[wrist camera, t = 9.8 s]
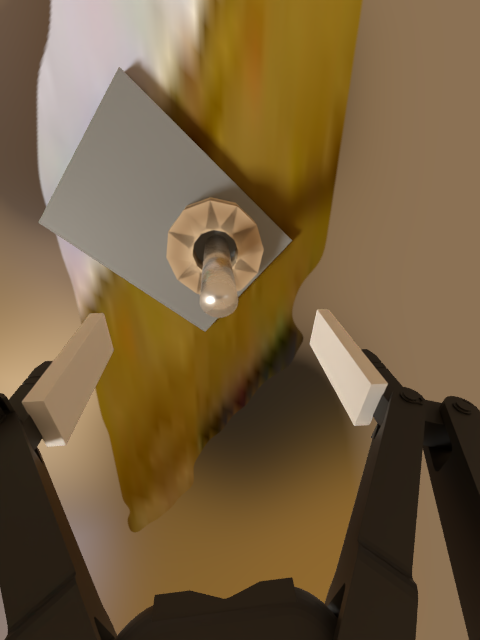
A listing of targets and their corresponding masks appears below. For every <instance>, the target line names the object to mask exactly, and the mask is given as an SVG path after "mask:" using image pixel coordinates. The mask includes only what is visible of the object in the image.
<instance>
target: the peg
mask: <svg viewBox="0 0 480 640" xmlns="http://www.w3.org/2000/svg"><path fill="white" fill-rule="evenodd" d="M237 305H238V295H237V290H236V285H235V279H234V274H233V269H232V263H231V258H230V253H229V247H228V243H227V241H226V240H225V238H223V237H222V236H219V235H213V236H211V237H209V238H208V239H207V240H206V242H205V247H204V257H203V268H202V279H201V290H200V306H201V308H202V310H203V311H204V312H205V313H206V314H208V315H210V316H212V317H216V318H221V317H226V316H228V315H230V314H231V313H233V312H234V310H235V309H236V307H237Z"/></svg>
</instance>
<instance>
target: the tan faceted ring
mask: <svg viewBox="0 0 480 640" xmlns="http://www.w3.org/2000/svg"><path fill="white" fill-rule="evenodd" d="M211 230H217V231H222V232H226V233H227V234H228V235H229V236H230V237H231V238H233V239H234V240H235V243H236V249H235V254H234V256H233V257H232V258H231V263H232V269H233V274H234V279H235V285H236V290H237V291H240V290H242V289H243V288H244V287H245V286H246V285H247V284H248V283H249V282H250V281H251V280H252V279H253V278H254V276H255V275H256V274H257V273H258V270H259V266H260V262H261V258H262V255H263V251H264V249H263V245H262V242H261V238H260V234H259V231H258V227H257V224H256V223H255V222H254V220H253V219H252V218H251V217H250V216H249V215H248V214H247V213H246V212H244V211H243V210H242V209H241V208H240V207H239V206H238V205H237V204H236V203H235V202H230V201H226V200H221V199H217V198H212V197H209V198H207V199H204V200H201V201H199V202H196V203H193V204H190V205H188V206H186V207H185V209H184V210H183V211H182V213H181V214H180V215H179V217H178V218H177V220H176V221H175V222H174V224H173V225H172V226H171V228H170V229H169V231H168V242H167V256H166V258H167V260H168V262H169V264H170V266H171V268H172V270H173V272H174V274H175V276H176V278H177V280H178V281H180V282H181V283H183V284H184V285H185V286H187V287H188V288H190V289H191V290H192V291H194V292H195V293H197V294H200V290H201V279H202V268H203V262H202V261H201V260H200V259H199V258H198V257H197V254H196V252H195V249H194V243H195V241H196V240H197V239H198V238H199V236H200V235H201V234H203V233H206V232H208V231H211Z"/></svg>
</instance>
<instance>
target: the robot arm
mask: <svg viewBox="0 0 480 640" xmlns="http://www.w3.org/2000/svg"><path fill="white" fill-rule="evenodd" d="M310 345H311V347H312V349H313V351H314V353H315V355H316V356H317V358H318V360H319V362H320V364H321V366H322V367H323V369H324V371H325V373H326V375H327V376H328V378H329V380H330V382H331V384H332V386H333V387H334V389H335V391H336V393H337V395H338V397H339V398H340V400H341V402H342V404H343V406H344V408H345V409H346V411H347V413H348V415H349V417H350V419H351V420H352V422H353V424H354V425H355V426H357V425H369V424H370V422H371V420H372V418H373V417H374V418H375V420H376V421H377V423H378V424H377V426H376V428H375V430H374V432H373V434H372V436H371V438H372V442H371V446H370V450H369V453H368V457H367V460H366V464H365V468H364V471H363V475H362V479H361V482H360V486H359V489H358V493H357V497H356V500H355V504H354V508H353V511H352V515H351V519H350V522H349V526H348V529H347V533H346V537H345V540H344V544H343V547H342V551H341V555H340V558H339V562H338V566H337V569H336V572H335V575H334V578H333V581H332V584H331V586H330V589H329V592H328V595H327V598H326V601H325V604H324V603H323V602H322V601H320V600H319V599H318V598H317V597H315V596H314V595H312V594H310V593H309V592H307V591H304V590H302V589H300V588H297V587H294V584H293V579H292V578H285V579H276V580H269V581H261V582H258V583H256V584H255V585H253V586H251V587H249V588H247V589H245V590H243V591H241V592H239V593H237V594H235V595H233V596H232V597H230V598H227V599H222V598H218V597H214V596H210V595H206V594H202V593H197V592H193V591H183V592H175V593H168V594H159V595H155V597H154V605H153V606H151V607H149V608H147V609H146V610H144V611H143V612H141V613H140V614H139V615H137V616H136V617H135V618H134V619H133V620H131V621H130V622H129V623H128V624H127V625H126V626H125V628H124V629H123V630H122V631H121V632H120V633H119V634H118V636H117V634H116V632H115V630H114V627H113V625H112V623H111V621H110V619H109V616H108V615H107V613H106V611H105V609H104V607H103V605H102V603H101V600H100V598H99V596H98V593H97V591H96V588H95V586H94V584H93V581H92V579H91V576H90V574H89V571H88V569H87V566H86V564H85V561H84V559H83V556H82V554H81V552H80V549H79V547H78V544H77V542H76V539H75V537H74V534H73V532H72V530H71V527H70V525H69V522H68V520H67V518H66V515H65V512H64V510H63V507H62V505H61V502H60V500H59V498H58V495H57V493H56V490H55V488H54V486H53V483H52V481H51V478H50V476H49V473H48V471H47V468H46V466H45V463H44V461H43V458H42V456H41V453H40V451H39V449H38V448H37V446H38V444H39V443H40V441H41V439H43V440H44V441H45V444H46V445H47V446H61V445H66V444H67V442H68V440H69V438H70V436H71V434H72V432H73V430H74V428H75V426H76V424H77V422H78V420H79V418H80V416H81V414H82V412H83V410H84V408H85V406H86V404H87V402H88V401H89V399H90V396H91V394H92V392H93V391H94V389H95V387H96V385H97V383H98V381H99V379H100V377H101V375H102V373H103V371H104V369H105V367H106V365H107V363H108V361H109V359H110V357H111V355H112V353H113V351H114V349H113V346H112V342H111V338H110V335H109V331H108V327H107V324H106V320H105V316H104V313H90V314H89V315H88V317H87V318H86V319H85V321H84V322H83V323H82V325H81V326H80V327H79V328H78V330H77V331H76V333H75V334H74V335H73V336H72V337H71V339H70V340H69V341H68V343H67V344H66V346H64V348H63V349H62V350H61V352H60V353H59V354H58V356H57V357H56V358H55V359H54V361H45V362H44V363H42V364H41V365H39V366H38V367H37V368H35V369H34V370H33V371H32V373H31V374H30V375H29V376H28V378H27V379H26V380H25V381H24V382H23V385H21V386H20V387H19V388H18V389H17V391H16V392H15V393H14V394H13V395H12V397H11V398H10V399H9V400H8V399H7V397H6V396H5V395H4V394H1V393H0V588H1V593H2V598H3V603H4V608H5V614H6V619H7V625H8V635H7V637H6V638H5V640H415V637H416V623H417V608H418V590H417V585H416V583H415V582H414V581H413V578H412V565H413V553H414V542H415V530H416V518H417V506H418V495H419V484H420V472H421V461H422V449H423V450H424V454H425V459H426V463H427V467H428V471H429V475H430V480H431V484H432V488H433V492H434V496H435V500H436V504H437V508H438V512H439V517H440V521H441V525H442V529H443V533H444V538H445V541H446V546H447V550H448V554H449V558H450V562H451V566H452V570H453V575H454V579H455V583H456V587H457V591H458V595H459V600H460V604H461V608H462V612H463V616H464V620H465V624H466V629H467V632H468V637H469V640H480V411H479V410H478V409H477V407H476V406H474V405H473V404H472V403H470V402H469V401H467V400H465V399H462V398H459V397H455V396H449V397H446V398H445V399H444V401H443V402H442V403H439V402H433V401H428V400H425V399H424V398H423V397H422V396H421V395H420V394H419V393H418V392H416V391H414V390H412V389H410V388H406V387H402V385H401V384H400V383H399V382H398V381H397V380H396V378H395V377H394V376H393V375H392V374H391V373H390V371H389V370H388V369H386V367H385V365H384V364H383V363H381V361H380V360H379V358H378V357H377V356H376V355H375V354H373V353H372V352H370V351H369V350H367V349H360V348H359V347H358V345H357V344H356V343H355V342H354V340H353V339H352V338H351V337H350V336H349V334H348V333H347V332H346V330H345V329H344V328H343V327H342V326H341V324H340V323H339V322H338V320H336V318H335V317H334V315H333V314H332V313H331V312H330V311H329V309H318V310H317V312H316V317H315V321H314V326H313V331H312V336H311V340H310Z"/></svg>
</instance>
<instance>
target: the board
mask: <svg viewBox="0 0 480 640" xmlns="http://www.w3.org/2000/svg"><path fill="white" fill-rule="evenodd" d="M209 197H212V198H217V199H221V200H226V201H230V202H235V203H236V204H237V205H238V206H239V207H240V208H241V209H242V210H243V211H244V212H246V213H247V214H248V215H249V216H250V217H251V218H252V219H253V220H254V222H255V223H256V224H257V227H258V231H259V234H260V238H261V242H262V245H263V249H264V251H263V255H262V258H261V262H260V266H259V270H258V273H257V274H256V275H255V276H254V278H253V279H252V280H251V281H250V282H249V283H248V284H247V285H246V286H245V287H244V288H243V289H242V290H240V291H237V295H238V297H239V296H240V295H241V294H242V292H243V291H244V290H245V289H246V288H247V287H248V286H249V285H250V284H251V283H252V282H253V281H254V280H255V279H256V278H257V277H258V276H259V275H260V274H261V273H262V272H263V271H264V269H265V268H266V267H267V266H268V265H269V264H270V263H271V262H272V261H273V260H274V259H275V258H276V257H277V256H278V255H279V254H280V253H281V252H282V251H283V250H284V249H285V247H286V246H287V245H288V244H289V243H290V242H291V241H292V240H291V239H290V238H289V237H288V236H287V235H286V234H285V233H284V232H283V231H282V230H281V229H280V228H279V227H278V226H277V225H276V224H275V223H274V222H273V221H272V220H271V219H270V218H269V217H268V216H267V215H266V214H265V213H264V212H263V211H262V210H261V209H260V208H259V207H258V206H257V205H256V204H255V203H254V202H253V201H252V200H251V199H250V198H249V197H248V196H247V195H246V194H245V193H244V192H243V191H242V190H241V189H240V188H239V187H238V186H237V185H236V184H235V183H234V182H233V181H232V180H231V179H230V178H229V177H228V176H227V175H226V174H225V173H224V172H223V171H222V170H221V169H220V168H219V167H218V166H217V165H216V164H215V163H214V162H213V161H212V160H211V159H210V158H209V157H208V156H207V155H206V154H205V153H204V152H203V150H202V149H201V148H200V147H199V146H198V145H197V144H196V143H195V142H194V141H193V140H192V139H191V138H190V137H189V136H188V135H187V134H186V133H185V132H184V131H183V130H182V129H181V128H180V127H179V126H178V125H177V124H176V123H175V122H174V121H173V120H172V119H171V118H170V117H169V116H168V115H167V114H166V113H165V112H164V111H163V110H162V109H161V108H160V107H159V106H158V105H157V104H156V103H155V102H154V101H153V100H152V99H151V98H150V97H149V96H148V95H147V94H146V93H145V92H144V91H143V90H142V89H141V88H140V87H139V86H138V85H137V84H136V83H135V82H134V81H133V80H132V79H131V78H130V77H129V76H128V75H127V74H126V73H125V72H124V71H123V70H122V69H121V68H120V67H119V68H118V70H117V72H116V74H115V76H114V78H113V80H112V82H111V84H110V86H109V88H108V89H107V91H106V93H105V95H104V97H103V99H102V101H101V103H100V105H99V107H98V109H97V111H96V113H95V115H94V116H93V118H92V120H91V122H90V124H89V126H88V128H87V130H86V132H85V134H84V136H83V138H82V140H81V142H80V143H79V145H78V147H77V149H76V151H75V153H74V155H73V157H72V159H71V161H70V163H69V165H68V167H67V169H66V170H65V172H64V174H63V176H62V178H61V180H60V182H59V184H58V186H57V188H56V190H55V192H54V194H53V196H52V197H51V199H50V201H49V203H48V205H47V207H46V209H45V211H44V213H43V215H42V217H41V219H40V221H39V223H40V224H42V225H43V226H44V227H46V228H47V229H49V230H51V231H52V232H54V233H55V234H57V235H58V236H60V237H61V238H63V239H64V240H66V241H67V242H69V243H70V244H72V245H73V246H75V247H76V248H78V249H79V250H81V251H83V252H84V253H86V254H87V255H89V256H90V257H92V258H93V259H95V260H96V261H98V262H99V263H101V264H102V265H104V266H105V267H107V268H109V269H110V270H112V271H113V272H115V273H116V274H118V275H119V276H121V277H122V278H124V279H125V280H127V281H128V282H130V283H131V284H133V285H134V286H136V287H138V288H139V289H141V290H142V291H144V292H145V293H147V294H148V295H150V296H151V297H153V298H154V299H156V300H157V301H159V302H160V303H162V304H164V305H165V306H167V307H168V308H170V309H171V310H173V311H174V312H176V313H177V314H179V315H180V316H182V317H183V318H185V319H186V320H188V321H189V322H191V323H193V324H194V325H196V326H197V327H199V328H200V329H202V330H203V331H206V330H207V329H208V328H209V327H210V326H211V325H212V324H213V323H214V322H215V321H216V320H217V319H218V318H216V317H212V316H210V315H208V314H206V313H205V312H204V311H203V310H202V308H201V306H200V294H197V293H195V292H194V291H192V290H191V289H190V288H188V287H187V286H185V285H184V284H183V283H181V282H180V281H178V280H177V278H176V276H175V274H174V272H173V270H172V268H171V266H170V264H169V262H168V260H167V258H166V256H167V242H168V231H169V229H170V228H171V226H172V225H173V224H174V222H175V221H176V220H177V218H178V217H179V215H180V214H181V213H182V211H183V210H184V209H185V207H186V206H188V205H190V204H193V203H196V202H199V201H201V200H204V199H207V198H209ZM213 235H219V236H222V237H223V238H225V240H226V241H227V243H228V247H229V253H230V258H232V257H233V256H234V254H235V249H236V243H235V240H234V239H233V238H231V237H230V236H229V235H228V234H227V233H226V232H222V231H217V230H211V231H208V232H206V233H203V234H201V235H200V236H199V238H198V239H197V240H196V241H195V243H194V249H195V252H196V254H197V257H198V258H199V259H200V260H201V261H202V262H203V257H204V247H205V242H206V240H207V239H208V238H209V237H211V236H213Z"/></svg>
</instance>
